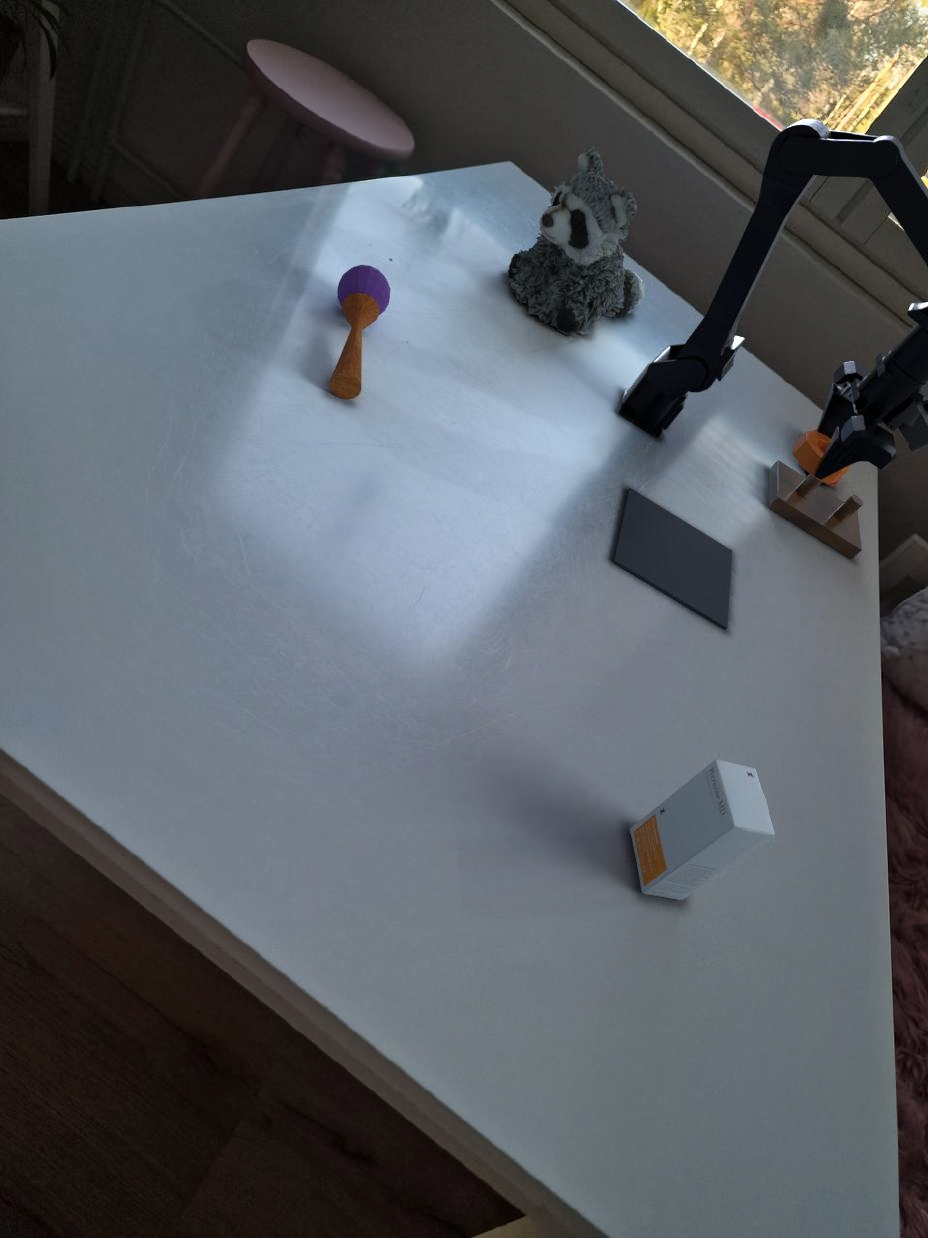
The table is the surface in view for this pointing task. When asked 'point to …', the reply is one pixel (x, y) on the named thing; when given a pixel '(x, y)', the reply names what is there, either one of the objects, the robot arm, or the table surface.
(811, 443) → the disc
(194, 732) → the table surface
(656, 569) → the mat
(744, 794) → the cosmetic box
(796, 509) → the rack
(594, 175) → the raccoon plush
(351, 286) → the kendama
